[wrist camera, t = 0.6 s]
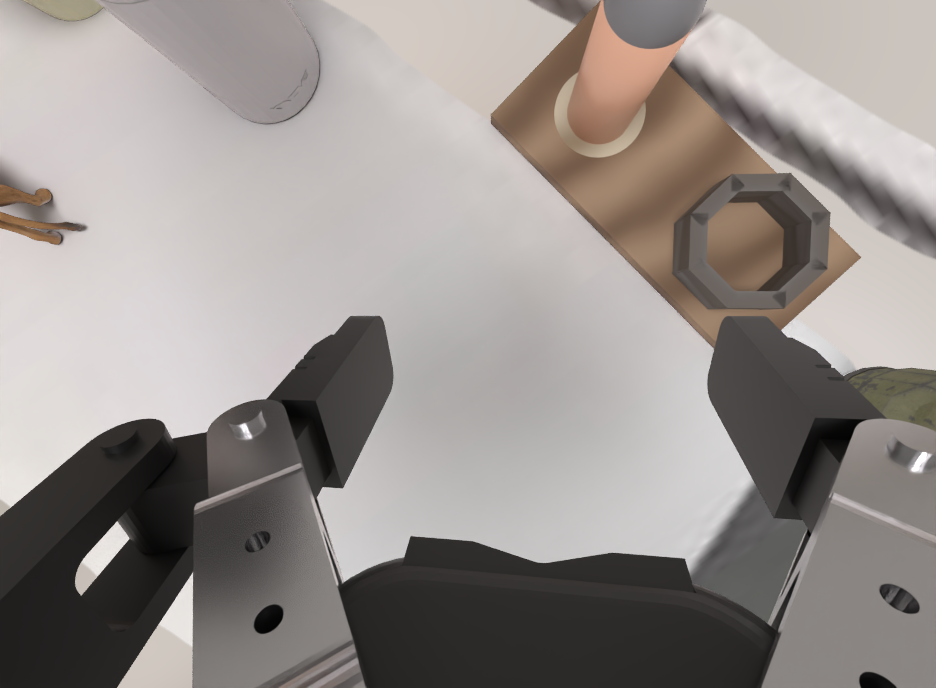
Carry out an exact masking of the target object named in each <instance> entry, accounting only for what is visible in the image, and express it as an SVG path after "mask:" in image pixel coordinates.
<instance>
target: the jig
mask: <svg viewBox="0 0 936 688" xmlns="http://www.w3.org/2000/svg"><path fill="white" fill-rule="evenodd" d="M600 2H601V1H600ZM600 2H599V3H598V4H597V5H596V6H595V7H594V8H593V9H592V10H591V11H590V12H589V13H588V14H587V15H586V16H585V17H584V18H583V19H582V20H581V21H580V22H579V24H578V25H577V26H576V27H575V28H574V29H573V30H572V31H571V32H570V33H569V34H568V35H567V36H566V37H565V38H564V39H563V40H562V41H561V42H560V43H559V44H558V45H557V46H556V47H555V49H554V50H553V51H552V52H551V53H550V54H549V55H548V56H547V57H546V58H545V59H544V60H543V61H542V62H541V63H540V64H539V65H538V66H537V67H536V68H535V69H534V70H533V72H531V73H530V74H529V76H528V77H527V78H526V79H525V80H524V81H523V82H522V83H521V84H520V85H519V86H518V87H517V88H516V89H515V90H514V91H513V92H512V93H511V94H510V95H509V96H508V97H507V98H506V99H505V100H504V102H503V103H502V104H501V105H500V106H499V107H498V108H497V109H496V110H495V111H494V112H493V113H492V114H491V124H492V125H493V126H494V127H495V128H496V129H497V130H498V131H499V132H500V133H501V134H502V135H503V136H504V137H505V138H506V139H507V140H508V141H509V142H510V143H511V144H512V145H513V146H514V147H515V148H516V149H517V150H518V151H519V152H520V153H521V154H522V155H523V156H524V157H525V158H526V159H527V160H528V161H529V162H530V163H531V164H532V165H533V166H534V167H535V168H536V169H537V170H538V171H539V172H540V173H541V174H542V175H543V176H544V177H545V178H546V179H547V180H548V181H549V182H550V183H551V184H552V185H553V186H554V187H555V188H556V189H557V190H558V191H559V192H560V193H561V194H562V195H563V196H564V197H565V198H566V199H567V200H568V201H569V202H570V203H571V204H572V205H573V206H574V207H575V208H576V209H577V210H578V211H579V212H580V213H581V214H582V215H583V217H584V218H585V219H586V220H587V221H588V222H589V223H590V224H591V225H592V226H593V227H594V228H595V229H596V230H597V231H598V232H599V233H600V234H601V235H602V236H603V237H604V238H605V239H606V240H607V241H608V242H609V243H610V244H611V245H612V246H613V247H614V248H615V249H616V250H617V251H618V252H619V253H620V254H621V255H622V256H623V257H624V258H625V259H626V260H627V261H628V262H629V263H630V264H631V265H632V266H633V267H634V268H635V269H636V270H637V271H638V272H639V273H640V274H641V275H642V276H643V277H644V278H645V279H646V280H647V281H648V282H649V283H650V284H651V285H652V286H653V287H654V288H655V289H656V290H657V291H658V292H659V293H660V294H661V295H662V296H663V297H664V298H665V299H666V300H667V301H668V302H669V303H670V304H671V305H672V306H673V307H674V308H675V309H676V310H677V311H678V312H679V313H680V314H681V315H682V316H683V317H684V318H685V319H686V320H687V321H688V322H689V323H690V325H691V326H692V327H693V328H694V329H695V330H696V331H697V332H698V333H699V334H700V335H701V336H702V337H703V338H704V339H705V340H706V341H707V342H708V343H709V344H710V345H711V346H712V347H713V348H714V349H715V344H716V340H717V336H718V332H719V328H720V325H721V322H722V320H723V319H724V318H725V317H726V316H766V317H768V318H769V319H770V320H771V321H772V322H773V323H774V324H775V325H776V326H777V327H778V328H779V329H780V330H782V329H783V328H784V327H785V326H786V325H787V324H788V323H789V322H790V321H791V320H793V319H794V318H795V317H796V316H797V315H798V314H799V313H800V312H801V311H802V310H804V309H805V308H806V307H807V306H808V305H809V304H810V303H811V302H812V301H813V300H815V299H816V298H817V297H818V296H819V295H820V294H821V293H822V292H823V291H824V290H826V289H827V288H828V287H829V286H830V285H831V284H832V283H833V282H834V281H835V280H837V279H838V278H839V277H840V276H841V275H842V274H843V273H844V272H846V270H848V269H849V268H850V267H851V266H852V265H853V264H854V263H855V262H857V261H858V260H859V259H860V258H861V257H860V256H859V255H858V254H857V253H856V252H855V251H854V250H853V249H852V248H851V247H850V246H849V245H848V244H847V243H846V242H845V241H844V240H843V239H842V238H841V237H840V236H839V235H838V234H837V233H836V232H835V231H834V230H833V229H832V228H831V227H830V212H829V211H828V210H827V209H826V208H825V207H824V206H823V205H822V204H821V203H820V202H819V201H818V200H817V199H816V198H815V197H814V196H813V195H812V194H811V193H810V192H809V191H808V190H807V189H806V188H805V187H804V186H803V185H802V184H801V183H800V182H799V181H798V180H797V179H796V178H795V177H794V176H793V175H792V174H791V173H778V174H777V173H776V172H775V171H774V170H773V169H772V168H771V167H770V166H769V165H768V164H767V163H766V162H765V161H764V160H763V159H762V158H761V157H760V156H759V155H758V154H757V153H756V152H755V151H754V150H753V149H752V148H751V147H750V146H749V145H748V144H747V143H746V142H745V141H744V140H743V139H742V138H741V137H740V136H739V135H738V134H737V133H736V132H735V131H734V130H733V129H732V128H731V127H730V126H729V125H728V124H727V123H726V122H725V121H724V120H723V119H722V118H721V117H720V116H719V115H718V114H717V113H716V112H715V111H714V110H713V109H712V108H711V107H710V106H709V105H708V104H707V103H706V102H705V101H704V100H703V99H702V98H701V97H700V96H699V95H698V94H697V93H696V92H695V91H694V90H693V89H692V88H691V87H690V86H689V85H688V84H687V83H686V82H685V81H684V80H683V79H682V78H681V77H680V76H679V75H678V74H677V73H676V72H675V71H674V70H673V69H672V68H671V67H670V66H669V65H668V67H667V68H666V70H665V71H664V73H663V74H662V76H661V78H660V79H659V81H658V82H657V84H656V85H655V87H654V88H653V90H652V91H651V93H650V94H649V96H648V97H647V99H646V100H645V102H644V103H643V105H642V106H641V108H640V109H639V111H638V112H637V114H636V116H635V117H634V119H633V120H632V122H631V123H630V125H629V126H628V128H627V129H626V131H625V132H624V133H623V134H622V135H621V136H620V137H619V138H617V139H616V140H614V141H612V142H609V143H606V144H590V143H587V142H585V141H583V140H581V139H580V138H579V137H577V136H576V135H575V134H574V132H573V131H572V129H571V127H570V125H569V122H568V118H567V109H568V104H569V101H570V98H571V94H572V91H573V88H574V85H575V82H576V78H577V75H578V72H579V69H580V66H581V63H582V59H583V56H584V53H585V50H586V47H587V44H588V40H589V37H590V34H591V31H592V28H593V25H594V21H595V18H596V15H597V12H598V9H599V6H600Z"/></svg>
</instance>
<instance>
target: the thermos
mask: <svg viewBox="0 0 936 688" xmlns="http://www.w3.org/2000/svg"><path fill="white" fill-rule="evenodd" d="M844 381H848V382H849V383H850V384H852V385H853V386H854V387H855V388H856V389H857V390H858V391H859V392H860V393H861V394H862V395H863V396H864V397H865V398H866V399H867V400H868V401H869V402H870V403H871V404H872V405H873V406H874V407H876V408H877V409H878V410H879V411H880V412H881V413H882V414H883V415H884V416H885V417H886V418H887V419H893V420H900V421H905V422H909V423H913V424H916V425H920V426H923V427H926V428H928V429H931V430H933V431H936V371H934V370H925V369H916V368H906V369H893V368H888V367H870V368H862V369H859V370H857V371H855V372H852V373H850V374H847V375H845V376H844Z"/></svg>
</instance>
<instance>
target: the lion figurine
mask: <svg viewBox="0 0 936 688" xmlns="http://www.w3.org/2000/svg"><path fill="white" fill-rule="evenodd" d="M50 200H51V193H50V192H49V191H48V190H47V189H38V190H37V191H36V193H35V195H30V194H27V193H24V192H22V191H19V190H17V189H14V188H12V187H9V186H5V185H0V207H1V206H7V205H10V204H15V203H29V204H32V205H34V206H41V205H43V204H45V203H47V202H49V201H50ZM25 226H26V227H25ZM28 227H31V228H38V229H68V230H72V231H75V230H81V229H82V226H81V225H79V224H73V223H69V222H63V223H42V222H36V221H31V220H26V219H22V218H18V217H14V216H11V215H8V214H5V213H2V212H0V228H2V229H6V230H9V231H13V232H16V233H19V234H22V235H25V236H27V237H29V238H31V239H34V240H38V241H46V242H49V243H51V244H56V245H57V244H59V243H60V241H61V236H60V234H59V233H57V232H55V231H49V232H47V233H44V232H41V231H38V230H35V229H31V228H28Z"/></svg>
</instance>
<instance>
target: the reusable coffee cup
mask: <svg viewBox="0 0 936 688" xmlns="http://www.w3.org/2000/svg"><path fill="white" fill-rule="evenodd" d="M23 1H25V2H27V3H29V4H30V5H32V6H34V7H36V8H38V9H40V10H41V11H43V12H45V13H47V14H49V15H51V16H53V17H55V18H58V19H61V20H66V21H78V20H82V19H86V18H88V17H90V16H92V15H95V14H96V13H97V12H99V11H100V10H101V9H102V8H103V7H102V6H101V5H100V4H99V3H97V2H96V1H95V0H23Z"/></svg>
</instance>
